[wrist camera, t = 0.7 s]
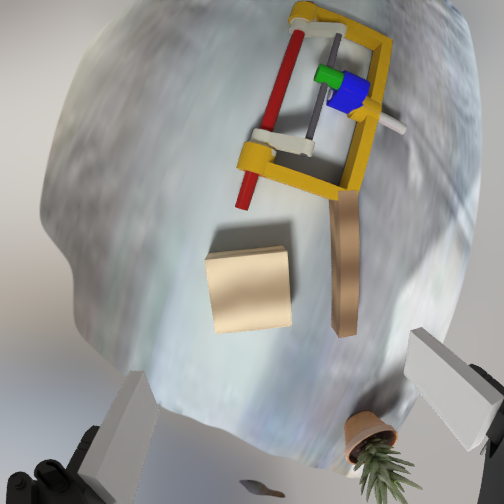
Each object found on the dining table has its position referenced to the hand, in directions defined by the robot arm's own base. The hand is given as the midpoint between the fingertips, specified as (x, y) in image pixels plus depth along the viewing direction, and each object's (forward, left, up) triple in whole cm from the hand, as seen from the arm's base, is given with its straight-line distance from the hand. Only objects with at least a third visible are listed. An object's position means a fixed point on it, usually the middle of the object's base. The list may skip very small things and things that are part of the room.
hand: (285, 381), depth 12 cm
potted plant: (+32, +16, -23) cm, 43 cm away
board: (+1, +11, -23) cm, 26 cm away
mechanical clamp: (-18, +11, -23) cm, 31 cm away
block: (+3, -1, -24) cm, 24 cm away
